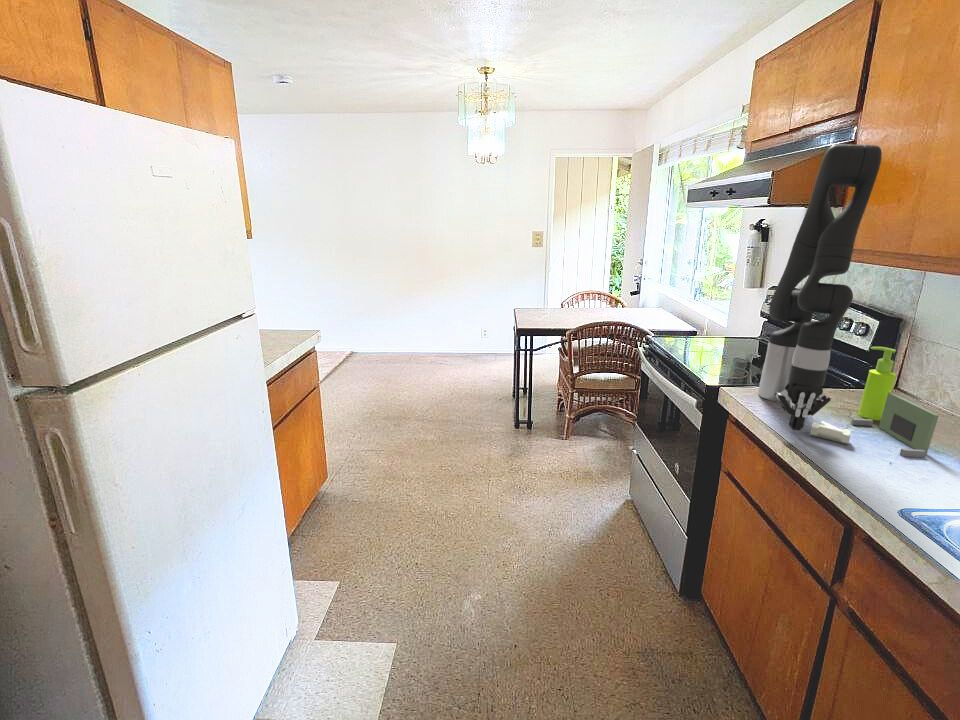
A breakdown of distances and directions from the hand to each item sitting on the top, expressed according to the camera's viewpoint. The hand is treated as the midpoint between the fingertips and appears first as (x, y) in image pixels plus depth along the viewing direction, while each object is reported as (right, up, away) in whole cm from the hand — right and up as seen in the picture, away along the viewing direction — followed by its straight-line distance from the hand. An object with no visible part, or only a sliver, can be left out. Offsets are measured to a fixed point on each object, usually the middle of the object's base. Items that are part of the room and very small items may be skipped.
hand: (794, 428), depth 126 cm
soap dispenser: (+30, +2, +14) cm, 33 cm away
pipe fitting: (+8, -3, 0) cm, 9 cm away
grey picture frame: (+23, -3, -1) cm, 24 cm away
